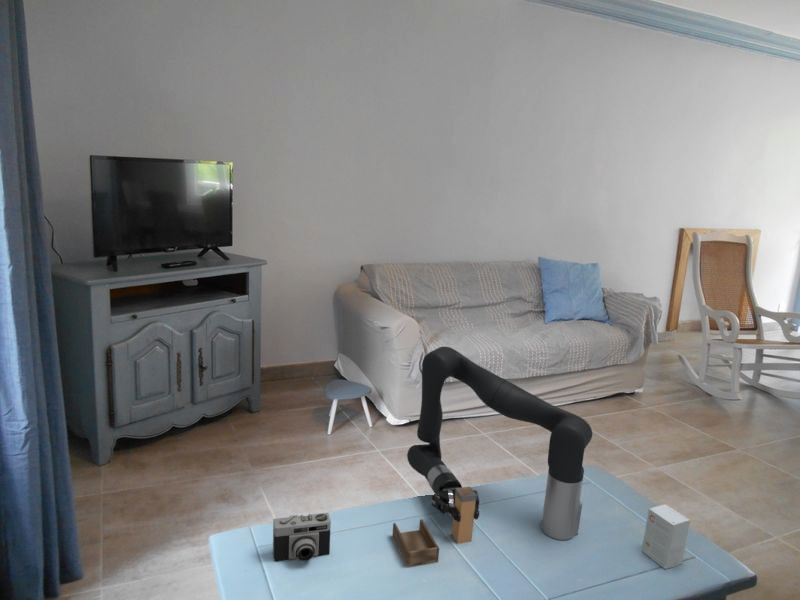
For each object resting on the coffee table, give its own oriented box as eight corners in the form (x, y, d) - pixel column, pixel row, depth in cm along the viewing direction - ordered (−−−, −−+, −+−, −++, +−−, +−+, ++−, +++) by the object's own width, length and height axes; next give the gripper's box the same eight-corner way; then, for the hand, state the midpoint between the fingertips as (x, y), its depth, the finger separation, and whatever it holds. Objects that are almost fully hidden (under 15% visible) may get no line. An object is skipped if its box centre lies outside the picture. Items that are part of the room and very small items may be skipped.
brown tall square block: (465, 532, 165) (470, 486, 162) (471, 541, 162) (476, 494, 158) (451, 534, 164) (455, 488, 161) (457, 543, 160) (462, 496, 157)
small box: (682, 564, 158) (691, 520, 155) (665, 570, 155) (673, 525, 152) (657, 545, 165) (665, 503, 162) (640, 551, 162) (648, 508, 159)
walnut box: (421, 532, 164) (422, 519, 163) (438, 562, 153) (439, 548, 152) (392, 536, 162) (393, 523, 161) (407, 567, 150) (408, 553, 149)
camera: (275, 572, 145) (275, 536, 143) (272, 550, 153) (272, 516, 151) (332, 564, 149) (334, 529, 147) (327, 544, 157) (328, 510, 155)
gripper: (421, 474, 171) (444, 508, 155) (467, 469, 175) (494, 501, 160) (419, 498, 173) (442, 533, 157) (465, 492, 177) (491, 526, 162)
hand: (468, 517), depth 159 cm, fingers open, 4 cm apart
